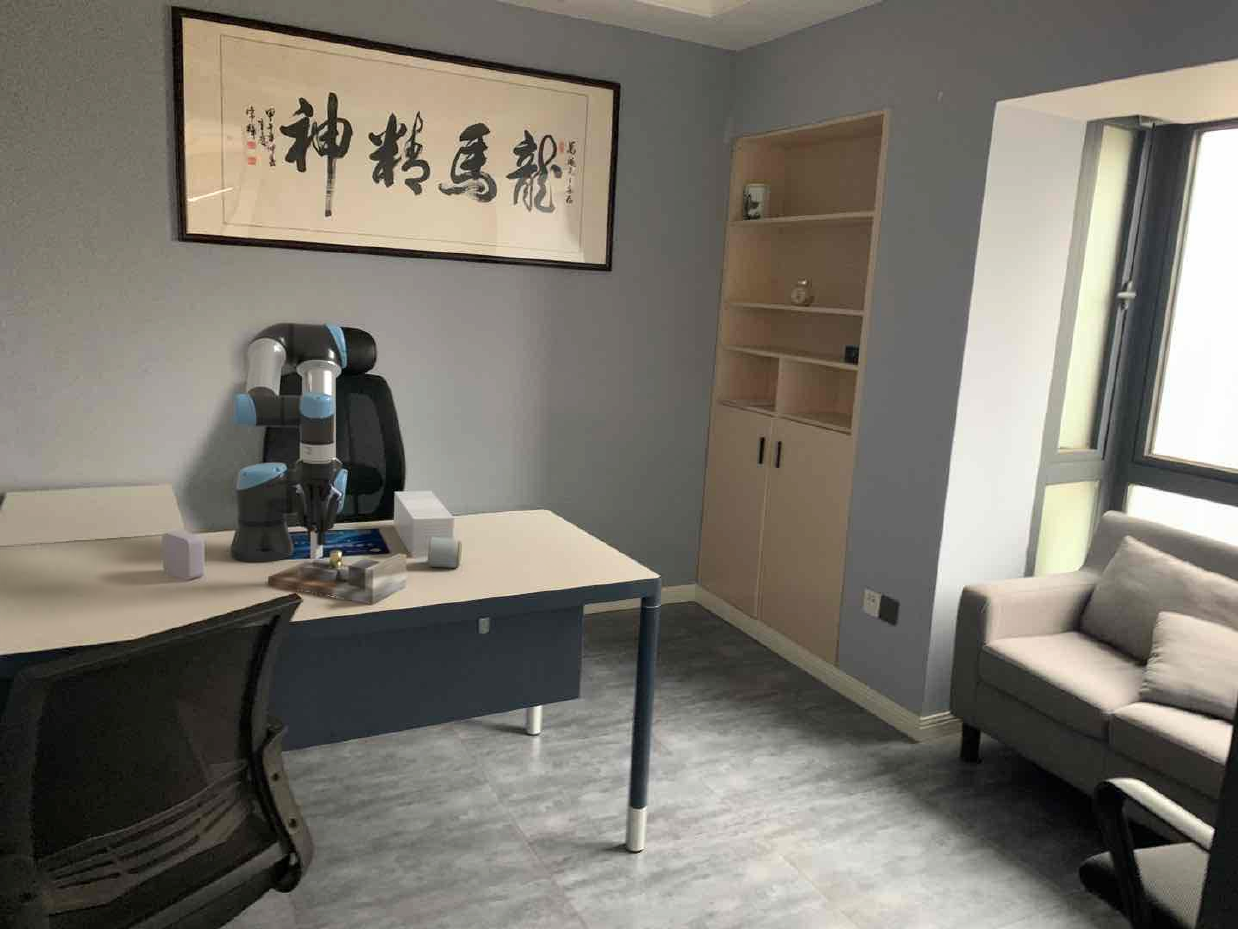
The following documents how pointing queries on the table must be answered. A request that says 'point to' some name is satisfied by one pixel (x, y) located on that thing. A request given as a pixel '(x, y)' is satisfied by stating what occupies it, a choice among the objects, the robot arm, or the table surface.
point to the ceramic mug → (444, 552)
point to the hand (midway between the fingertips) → (316, 557)
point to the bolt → (338, 564)
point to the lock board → (362, 585)
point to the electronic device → (183, 555)
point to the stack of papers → (421, 520)
